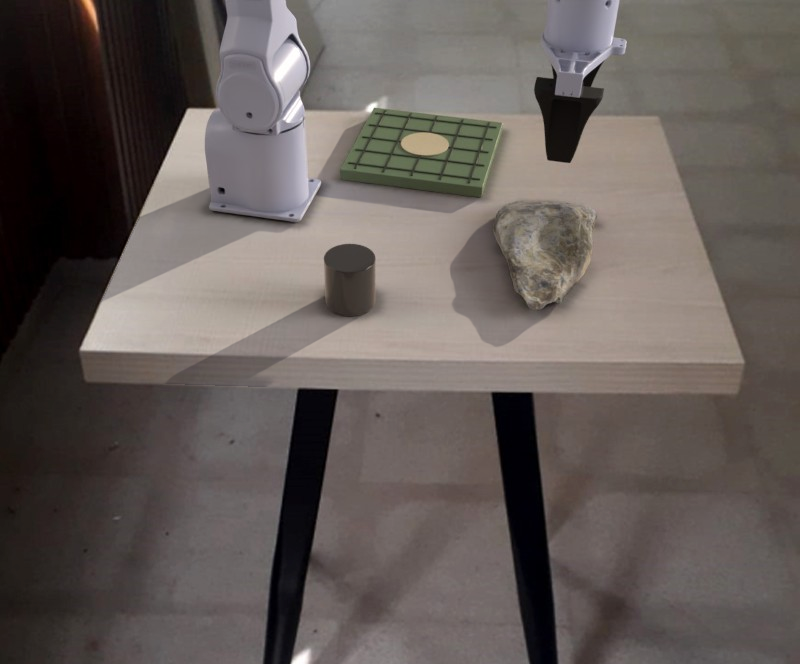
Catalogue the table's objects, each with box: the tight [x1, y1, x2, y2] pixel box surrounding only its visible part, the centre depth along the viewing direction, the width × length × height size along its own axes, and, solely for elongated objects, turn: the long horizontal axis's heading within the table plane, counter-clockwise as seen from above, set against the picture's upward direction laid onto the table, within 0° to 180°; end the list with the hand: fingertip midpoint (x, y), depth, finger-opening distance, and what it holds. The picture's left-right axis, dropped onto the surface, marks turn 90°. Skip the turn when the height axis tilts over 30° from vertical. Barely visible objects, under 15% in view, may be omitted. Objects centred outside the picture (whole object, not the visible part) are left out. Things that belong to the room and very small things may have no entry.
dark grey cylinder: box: [323, 243, 377, 317], centre depth 83 cm, size 4×4×5 cm
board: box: [339, 107, 504, 198], centre depth 104 cm, size 15×15×1 cm
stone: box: [492, 200, 598, 311], centre depth 89 cm, size 20×4×10 cm
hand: (563, 140), depth 86 cm, fingers open, 7 cm apart
